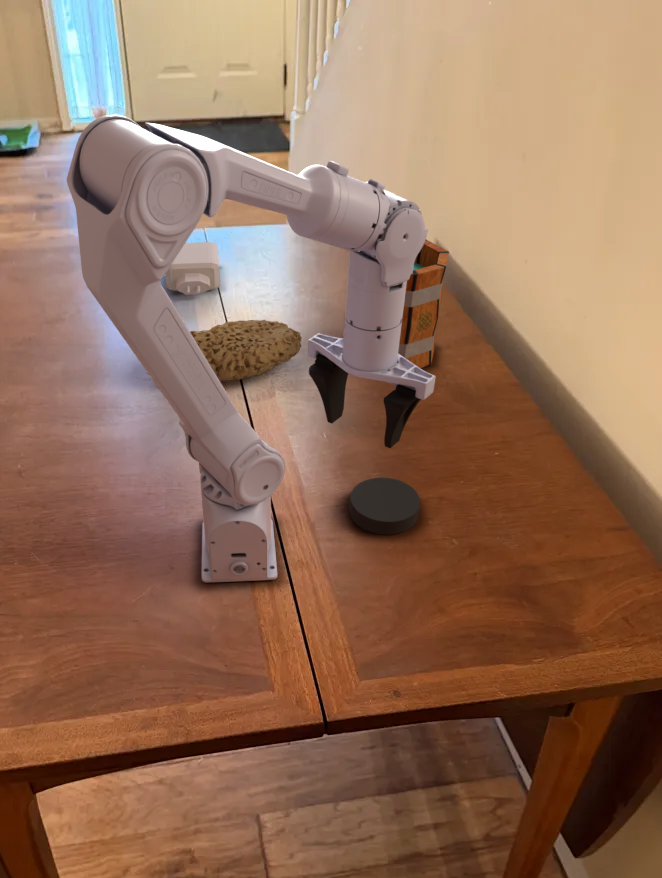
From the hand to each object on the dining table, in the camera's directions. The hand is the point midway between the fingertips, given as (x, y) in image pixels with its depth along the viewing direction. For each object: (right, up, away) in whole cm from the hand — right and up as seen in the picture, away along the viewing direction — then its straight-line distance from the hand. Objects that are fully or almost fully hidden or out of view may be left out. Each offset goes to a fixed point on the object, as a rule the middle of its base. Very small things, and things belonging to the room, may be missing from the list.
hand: (362, 430), depth 87 cm
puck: (+3, -9, +4) cm, 10 cm away
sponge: (-16, +13, +27) cm, 34 cm away
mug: (+7, +18, +33) cm, 39 cm away
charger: (-24, +31, +47) cm, 62 cm away
